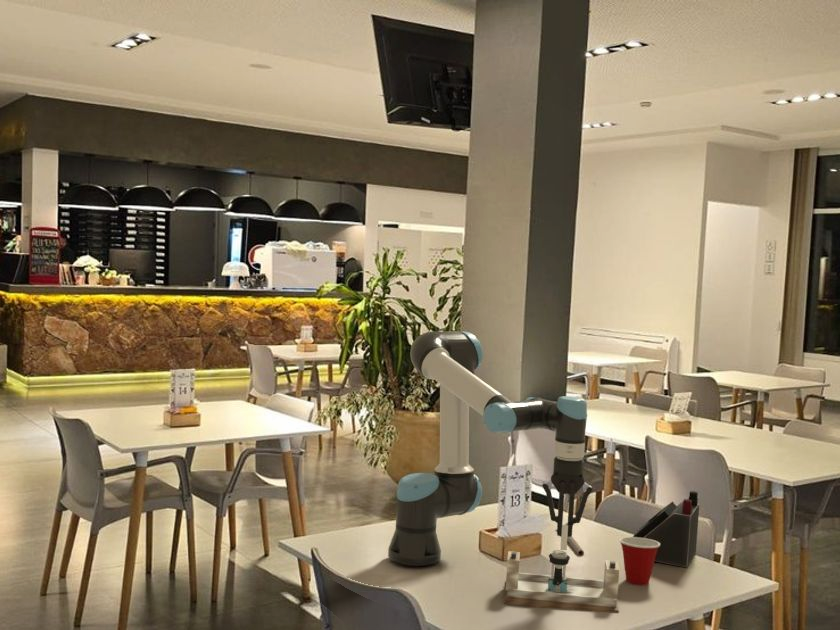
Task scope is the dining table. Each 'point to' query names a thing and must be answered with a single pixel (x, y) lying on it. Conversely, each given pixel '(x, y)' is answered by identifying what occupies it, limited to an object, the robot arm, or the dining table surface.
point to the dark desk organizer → (674, 531)
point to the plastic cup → (638, 558)
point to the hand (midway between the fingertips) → (563, 548)
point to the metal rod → (575, 545)
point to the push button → (558, 571)
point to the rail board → (582, 597)
